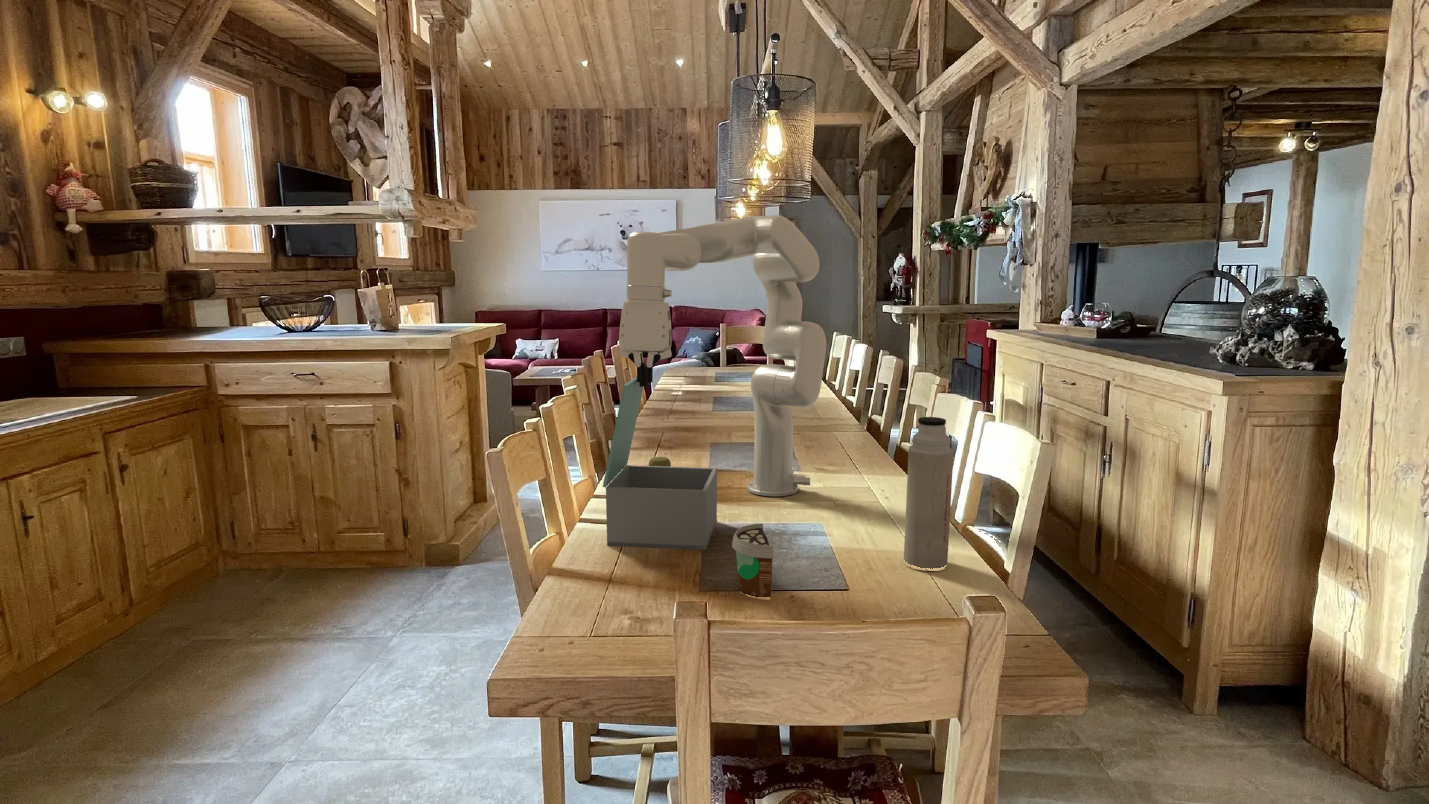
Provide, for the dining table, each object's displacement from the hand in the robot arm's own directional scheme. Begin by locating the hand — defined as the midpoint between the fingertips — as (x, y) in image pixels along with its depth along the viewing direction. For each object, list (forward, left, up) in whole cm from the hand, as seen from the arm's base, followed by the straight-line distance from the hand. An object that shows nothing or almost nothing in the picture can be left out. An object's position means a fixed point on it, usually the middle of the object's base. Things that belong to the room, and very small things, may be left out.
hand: (644, 386), depth 160 cm
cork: (+1, -21, -31) cm, 38 cm away
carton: (-4, 0, -31) cm, 31 cm away
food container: (-24, +27, -31) cm, 48 cm away
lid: (+4, 0, -9) cm, 10 cm away
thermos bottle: (-56, +11, -31) cm, 65 cm away
